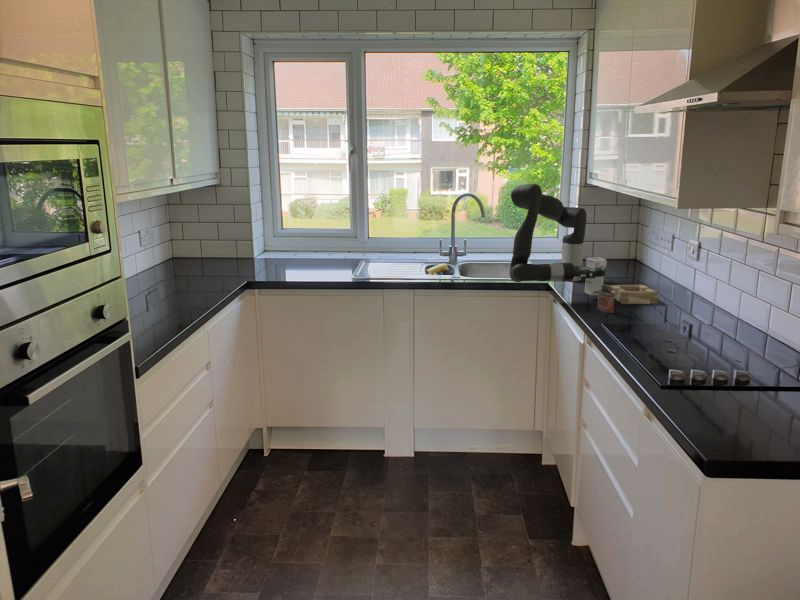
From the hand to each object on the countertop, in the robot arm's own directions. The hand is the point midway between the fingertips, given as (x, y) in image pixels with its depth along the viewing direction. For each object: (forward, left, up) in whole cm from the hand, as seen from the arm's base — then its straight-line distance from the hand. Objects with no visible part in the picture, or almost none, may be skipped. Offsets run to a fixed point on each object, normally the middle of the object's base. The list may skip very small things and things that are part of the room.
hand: (601, 271), depth 252 cm
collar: (+2, +13, -11) cm, 17 cm away
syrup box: (0, -2, -9) cm, 9 cm away
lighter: (+19, -4, -11) cm, 23 cm away
